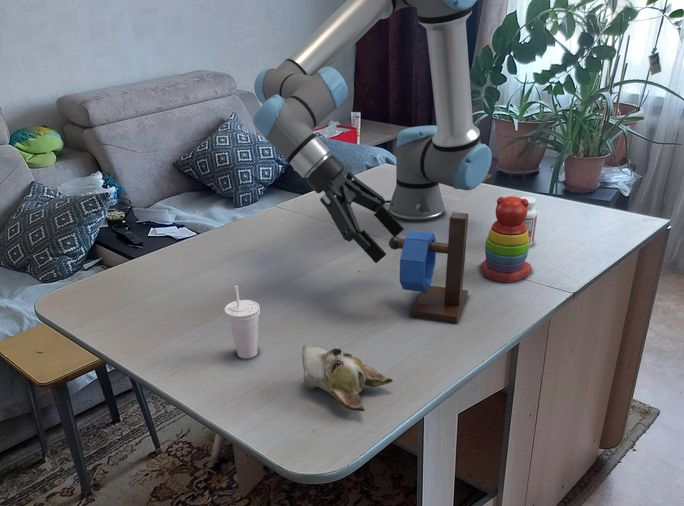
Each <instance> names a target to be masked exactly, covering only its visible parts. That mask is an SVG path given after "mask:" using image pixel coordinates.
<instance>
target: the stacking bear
mask: <svg viewBox="0 0 684 506" xmlns="http://www.w3.org/2000/svg"><path fill="white" fill-rule="evenodd" d="M519 197H520V196H519ZM519 197H518V196H506V197H504V196H498V197H497V199H496V207H495V217H496V221H493V223H492V225H491V227H490V229H489V231H488V234H487V237H486V241H485V244H484V253H485V259H484V260H483V262H482V266H481V271H482V273H483V275H484V276H485V277H486V278H488V279H490V280H493V281H495V282H499V283H513V282H517V281H520V280H523V279H524V278H527V276H529V275H530V273H531V272H532V265H531V263H529V262H528V261H526V259H527V258H528V255H529V249H530V246H529V235H528V230H527V227H526V225H525V224H524V223H523V222H524V220H525V218H526V216H527V211H528V209H527V206H528V205H529V202H528V200H527V199H521V198H519Z"/></svg>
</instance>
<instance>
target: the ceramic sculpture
mask: <svg viewBox="0 0 684 506" xmlns="http://www.w3.org/2000/svg"><path fill="white" fill-rule="evenodd" d="M301 354H302V356H301V357H302V358H301V359H302V367H303V382H304V384H305V386H306V387H307V388H308V389H314V388H320V389H322V390H323V391H325V392H326V393H328V394H330V395H331V396H332V397H333V398H334V399H335V401H336V402H337V403H338V404H339V405H340V406H341V407H342V408H344V409H346V410H350V411H356V412H357V411H358V412H365V410H366V409H365V407H364V406H363V402H362V398H361V397H360V393H361V392H362V390H363V389H364V387H365V386H368V387H371V388H376V387H381V386H384V385H387V384H391V383H393V382H394V380H393V378H391V377H385V376H384V375H382V374H381V373H380V372H378V371H377V370H376V369H375V368H374V367H371V366H369V365H368V364H364V363H363V362H362V360H361V359H360V358H359V357H357V356H354V355H353V354H351V353H346V352H343V351H342V349H341V348H338V347H337V348H336V347H334V348H331V349H328V350H327V349H323V348H321V347H319V346H312V345H308V344H303V345H302V353H301Z"/></svg>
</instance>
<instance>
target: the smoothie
mask: <svg viewBox="0 0 684 506" xmlns="http://www.w3.org/2000/svg"><path fill="white" fill-rule="evenodd" d="M234 293H235V300H234V301H232V302H230V303H228V304H226V305H225V307H224V316H225V318H226V319H227V321H228V325H229V329H230V332H231V336H232V339H233V344H234V346H235V350H236V354H237V356H238V357H239V358H241V359H252V358H254V357H255V356H257V355H258V345H259V341H258V339H259V315H260V313H261V308H260V304H259V303H258V302H256V301H255V300H251V299H240V294H239V293H240V292H239V286H238V285H234Z"/></svg>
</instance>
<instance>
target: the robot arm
mask: <svg viewBox="0 0 684 506" xmlns="http://www.w3.org/2000/svg"><path fill="white" fill-rule="evenodd" d="M477 1H478V0H346V1H345V2H344V3H343V4H341V6H339V7H338V8H337V9H336V11H334V12H333V13H332V14H331V15H330V16H329V17H328V18H327V19H326V20H325V21H324V22H323V23H322V24H321V25H320V26H319V27H318V28H317V29H316V30H315V31H314V32H313V33H312V34H311V35H310V36H308V38H307V39H306V40H304V41H303V42H302V43H301V44H300V45H299V46H298V47H297V48H296V49H295V50H294V51H293V52H292V53H291V54H289V56H288V57H287V58H286V59H285V60H284V61H283V62H282V63H280V64H279V65H278V66H277V67H276V68H272V67H271V68H266V69H263V70H262V71H260V72H259V73H258V74H257V76H256V77H255V81H254V85H253V88H254V95H255V97H256V99H257V100H258V101H259V102H260V103H261V106H259V108H258V109H257V110H256V111H255V113H254V115H253V119H252V122H253V125H254V126H255V127H256V129H257V131H259V133H260V134H261V136H262V137H264V139H265V140H266V141H267V142H268V143H269V144H270V145H271V146H272V147H273V148H274V149H275V150H276V151H277V153H279V154H280V155H281V156H282V157H283V159H285V161H286V162H287V163H288V164H290V166H291V167H292V169H293V171H294V172H297V174H298V175H300V177H301V178H307V179H306V183H307V185H309V187H308V188H309V189H312V190H313V191H314V192H315V193H316V194H321V193H322V192H324V194H323V195H322V196H321V197H320V198H319V201H320V203H321V204H322V205H323V206H324V207H325V209H326V210H327V212H328V213H329V215H330V217H331V219H332V221H333V222H334V224H335V226H336V228H337V229H338V231H339V233H340V235H341V237H342V238H343V240H345V241H347V242H348V243H350V242H352V241H353V240H354V242H355V243H357V245H358V246H359V247H360V248H361V249H362V250H363V252H365V253H366V254H367V256H368V257H369V258H370V259H371V260H372V261H373V262H374V263H375V264H377V263H379V262H380V261H381V260H382V259H383V258H384V257H386V256H387V253H386V251H385V250H384V249H383V248H382V247H381V246H380V245H379V244H378V243H377V242H376V241H375V240H374V238H372V236H371V235H370V234H369V233H368V232H367V231H366V230H365V229H361V226H360V224H359V222H358V220H357V219H358V218H357V217H356V214H355V212H354V210H353V207H352V203H354V204H357V205H359V206H361V207H363V208H365V209H367V210H369V211H370V212H373V213H374V214H373V216H374V217H375V218H376V219H377V220H378V221H379V223H380V224H381V225H382V226H383V227H384V228H385V230H387V232H389V234H390V235H391V236H392V237H395V236H396V237H398V235H400V233H402V232H403V231H404V230H405V227H404V226H403V225H402V224H401V223H400V222H399V221H403V222H411V223H422V222H423V223H424V222H431V221H435V220H437V219H440V218H441V217H443V216H444V214H445V203H444V201H443V195H442V192H441V188H440V184H441V185H444V186H448V187H451V188H453V189H455V190H463V191H471V190H474V189H476V188H477V187H478V186H480V185H481V183H483V182H484V180H485V179H486V176H487V175H488V173H489V170H490V169H491V165H492V158H493V156H492V155H493V154H492V150H491V148H490V147H489V146H488V145H487V144H485V143H482V142H481V131H480V129H479V128H478V127H477V126H476V125H474V120H473V119H474V118H473V108H472V107H473V106H472V104H473V103H472V94H471V93H472V91H471V78H470V64H469V63H470V62H469V51H468V50H469V49H468V36H467V19H468V18H469V17H470V16H471V15H472V13H473V6H474V5H475V3H477ZM403 8H416V11H417V21H418V23H419V24H420V25H421V26H422V27H423V28H425V29H426V38H427V47H428V57H429V64H430V65H429V66H430V67H429V68H430V75H431V84H432V94H433V103H434V111H435V121H436V125H419V126H411V127H407V128H404V129H402V130H400V131H399V132H398V134H397V137H396V139H397V140H396V146H395V149H396V150H395V154H396V156H395V158H396V160H395V164H396V167H395V169H396V174H395V175H396V176H395V177H396V179H395V180H396V182H395V188H394V191H393V194H392V197H391V200H390V199H389V200H386V199H385V198H384V197H383V196H382V195H381V194H380V193H378V192H377V191H375V190H373V189H372V188H371V187H370V186H368V185H367V184H365V183H364V182H363V181H361V180H360V179H359V178H357V177H356V176H355V174H353V173H352V172H351V171H348V172H347V173H346V174H345V175H344V174H342V172H343V171H344V170H345V166H344V164H342V162H341V161H340V160H339V159H338V157H337V156H336V155H333V154H331V150H330V148H329V147H327V146H326V144H325V143H324V142H323V141H322V140H321V139H320V138H319V137H318V136H317V135H316V134H315V132H314V131H313V130H314V129H315V128H316V127H317V126H318V125H320V123H321V122H323V121H324V120H326V118H328V116H330V115H331V114H332V113H333V112H334V111H336V110H338V107H339V106H340V105H341V104H342V103H343V102H344V101H345V100H346V99H347V97H348V92H349V91H348V90H349V89H348V85H347V83H346V81H345V78H344V77H343V76H342V75H341V73H340V72H339V71H338V70H336V69H335V68H334V67H332V66H334V65H335V64H336V62H338V61H339V60H340V59H341V58H342V57H343V56H344V55H345V54H346V53H347V52H348V51H349V50H350V49H351V48H352V47H353V46H354V45H355V44H356V43H357V42H358V41H359V40H360V39H361V38H362V37H363V36H364V35H365V34H366V33H367V32H368V31H369V30H370V29H372V27H373V26H374V25H376V23H377V22H378V21H380V20H384V19H388V18H389V17H390V16H391V15H393V13H395V12H396V11H398V10H400V9H403ZM385 204H389V207H388V208H386V207H385ZM388 209H389V210H388ZM398 220H399V221H398Z"/></svg>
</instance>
